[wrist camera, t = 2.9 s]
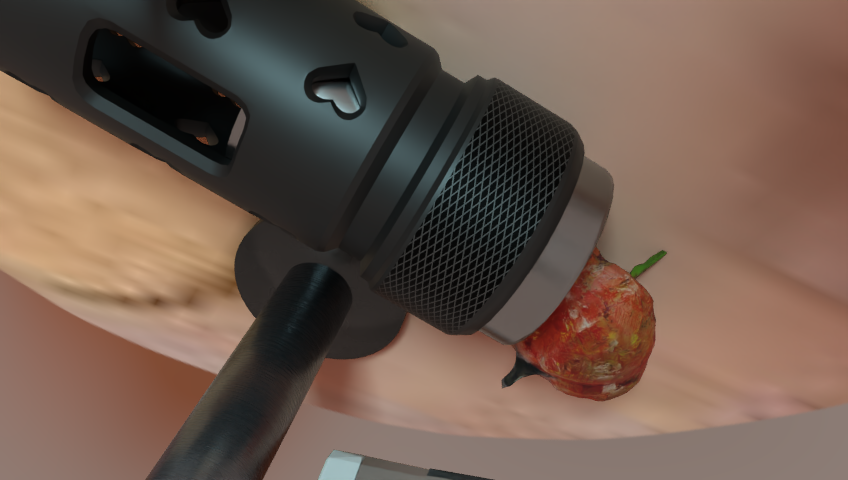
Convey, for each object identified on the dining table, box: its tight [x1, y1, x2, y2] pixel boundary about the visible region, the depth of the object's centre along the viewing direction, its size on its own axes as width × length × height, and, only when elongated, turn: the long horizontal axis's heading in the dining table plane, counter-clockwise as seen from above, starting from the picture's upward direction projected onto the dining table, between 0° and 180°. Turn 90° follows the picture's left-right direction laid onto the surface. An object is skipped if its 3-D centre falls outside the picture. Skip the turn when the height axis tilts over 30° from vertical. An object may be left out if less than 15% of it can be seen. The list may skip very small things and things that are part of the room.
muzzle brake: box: [0, 0, 614, 345], centre depth 25 cm, size 10×28×10 cm, turn 62°
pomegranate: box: [502, 246, 667, 401], centre depth 30 cm, size 7×7×10 cm
